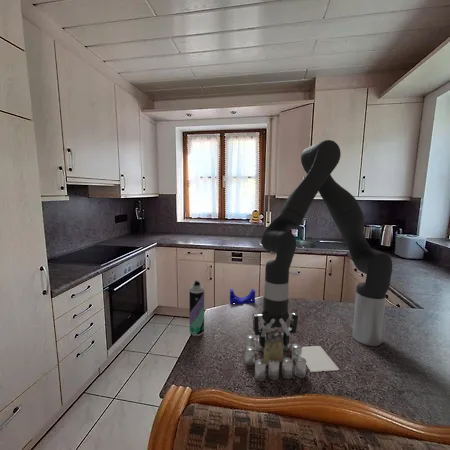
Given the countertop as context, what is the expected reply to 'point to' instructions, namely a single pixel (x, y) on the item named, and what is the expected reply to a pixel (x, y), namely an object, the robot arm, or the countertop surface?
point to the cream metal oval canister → (273, 346)
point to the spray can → (196, 309)
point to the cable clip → (242, 300)
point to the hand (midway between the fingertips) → (273, 345)
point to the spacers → (275, 361)
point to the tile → (317, 359)
